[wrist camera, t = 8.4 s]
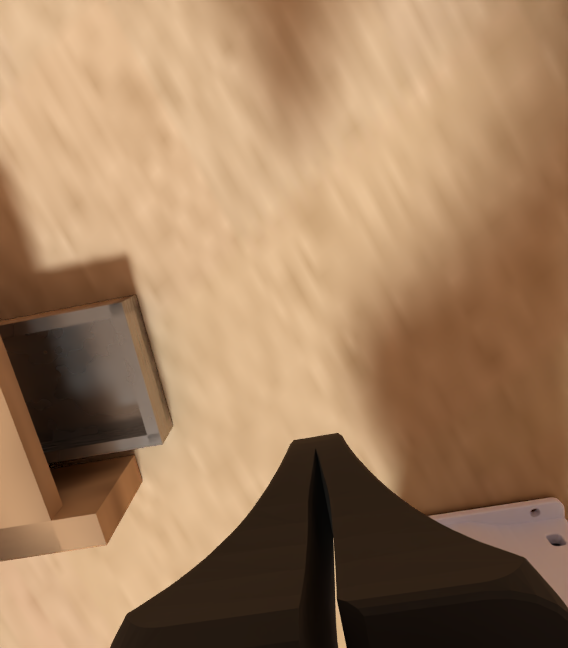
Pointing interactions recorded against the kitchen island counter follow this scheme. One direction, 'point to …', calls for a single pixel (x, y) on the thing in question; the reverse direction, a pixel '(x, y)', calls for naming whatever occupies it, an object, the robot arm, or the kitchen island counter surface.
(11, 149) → the kitchen island counter surface
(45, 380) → the tray
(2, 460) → the overhang
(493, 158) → the kitchen island counter surface
